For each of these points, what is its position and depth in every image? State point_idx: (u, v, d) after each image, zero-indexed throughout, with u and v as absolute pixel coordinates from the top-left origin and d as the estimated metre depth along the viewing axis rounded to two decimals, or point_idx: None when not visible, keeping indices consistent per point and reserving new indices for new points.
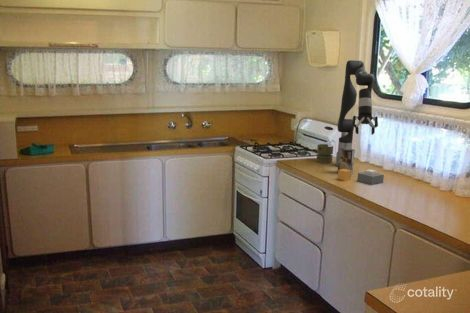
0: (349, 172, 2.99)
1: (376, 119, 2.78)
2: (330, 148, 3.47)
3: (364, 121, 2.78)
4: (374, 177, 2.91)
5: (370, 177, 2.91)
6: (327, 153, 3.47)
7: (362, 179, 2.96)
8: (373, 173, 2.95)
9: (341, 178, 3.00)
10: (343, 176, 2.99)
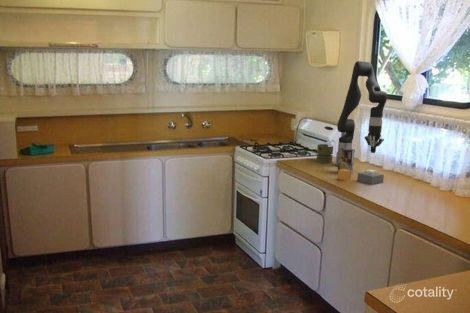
0: (349, 172, 2.99)
1: (379, 141, 2.89)
2: (330, 148, 3.47)
3: None
4: (374, 177, 2.91)
5: (370, 177, 2.91)
6: (327, 153, 3.47)
7: (362, 179, 2.96)
8: (373, 173, 2.95)
9: (341, 178, 3.00)
10: (343, 176, 2.99)
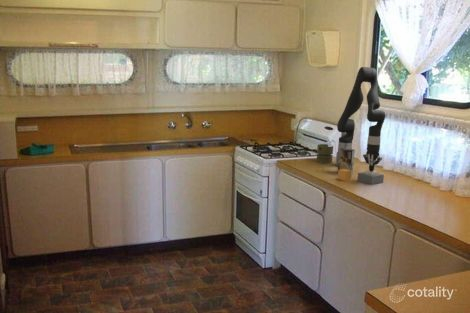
0: (349, 172, 2.99)
1: (377, 160, 2.91)
2: (330, 148, 3.47)
3: None
4: (374, 177, 2.91)
5: (370, 177, 2.91)
6: (327, 153, 3.47)
7: (362, 179, 2.96)
8: (373, 173, 2.95)
9: (341, 178, 3.00)
10: (342, 176, 2.99)
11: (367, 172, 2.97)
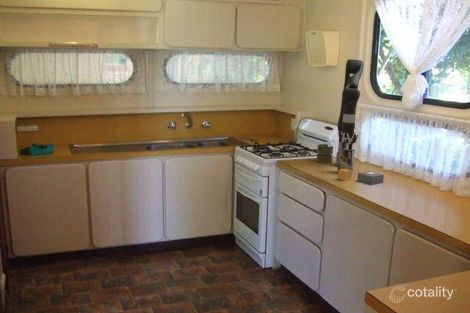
0: (349, 172, 2.99)
1: (354, 136, 2.91)
2: (330, 148, 3.47)
3: (346, 135, 2.96)
4: (374, 177, 2.91)
5: (370, 177, 2.91)
6: (327, 153, 3.47)
7: (362, 179, 2.96)
8: None
9: (341, 178, 3.00)
10: (343, 176, 2.99)
11: None
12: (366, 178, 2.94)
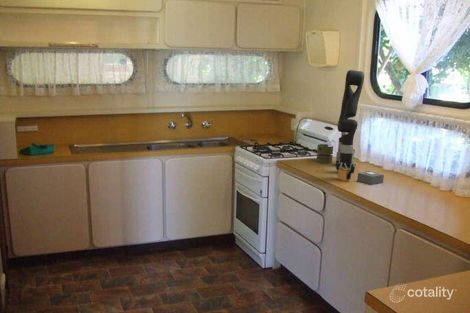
0: None
1: (351, 167, 2.94)
2: (330, 148, 3.47)
3: (344, 165, 2.99)
4: (374, 177, 2.91)
5: (370, 177, 2.91)
6: (327, 153, 3.47)
7: (362, 179, 2.96)
8: None
9: (341, 178, 3.00)
10: (343, 175, 2.98)
11: None
12: (366, 178, 2.94)
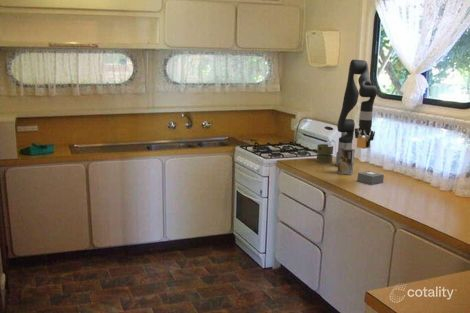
0: None
1: (371, 134, 2.88)
2: (330, 148, 3.47)
3: (363, 133, 2.93)
4: (374, 177, 2.91)
5: (370, 177, 2.91)
6: (327, 153, 3.47)
7: (362, 179, 2.96)
8: None
9: (360, 146, 2.93)
10: (362, 143, 2.92)
11: None
12: (366, 178, 2.94)
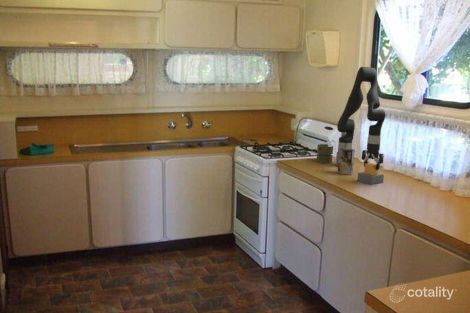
0: None
1: (380, 156, 2.89)
2: (330, 148, 3.47)
3: (370, 157, 2.95)
4: (374, 177, 2.91)
5: (370, 177, 2.91)
6: (327, 153, 3.47)
7: (362, 179, 2.96)
8: None
9: (368, 172, 2.95)
10: (369, 170, 2.94)
11: None
12: (366, 178, 2.94)
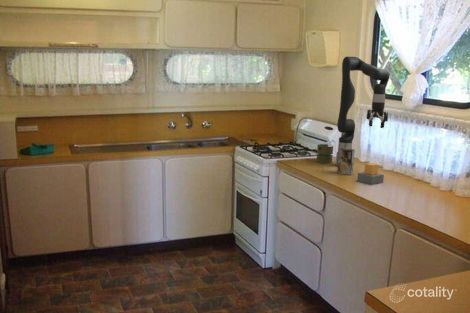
0: (376, 166, 2.95)
1: (384, 114, 2.98)
2: (330, 148, 3.47)
3: (375, 115, 3.04)
4: (374, 177, 2.91)
5: (370, 177, 2.91)
6: (327, 153, 3.47)
7: (362, 179, 2.96)
8: None
9: (368, 172, 2.95)
10: (369, 170, 2.94)
11: None
12: (366, 178, 2.94)
